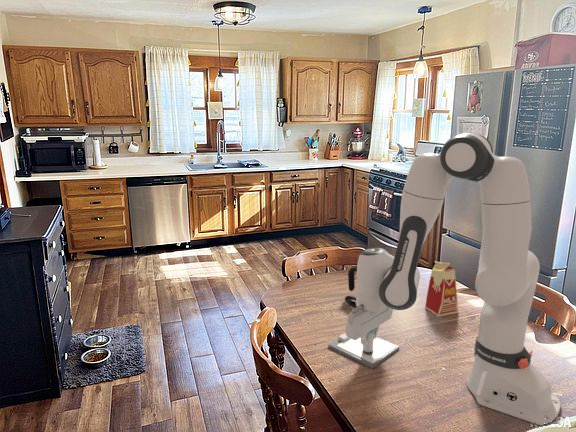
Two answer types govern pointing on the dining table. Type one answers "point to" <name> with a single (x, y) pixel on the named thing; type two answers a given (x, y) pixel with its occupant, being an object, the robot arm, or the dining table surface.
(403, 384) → the dining table surface
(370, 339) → the glue stick
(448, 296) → the milk carton
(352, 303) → the milk frother
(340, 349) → the clipboard
